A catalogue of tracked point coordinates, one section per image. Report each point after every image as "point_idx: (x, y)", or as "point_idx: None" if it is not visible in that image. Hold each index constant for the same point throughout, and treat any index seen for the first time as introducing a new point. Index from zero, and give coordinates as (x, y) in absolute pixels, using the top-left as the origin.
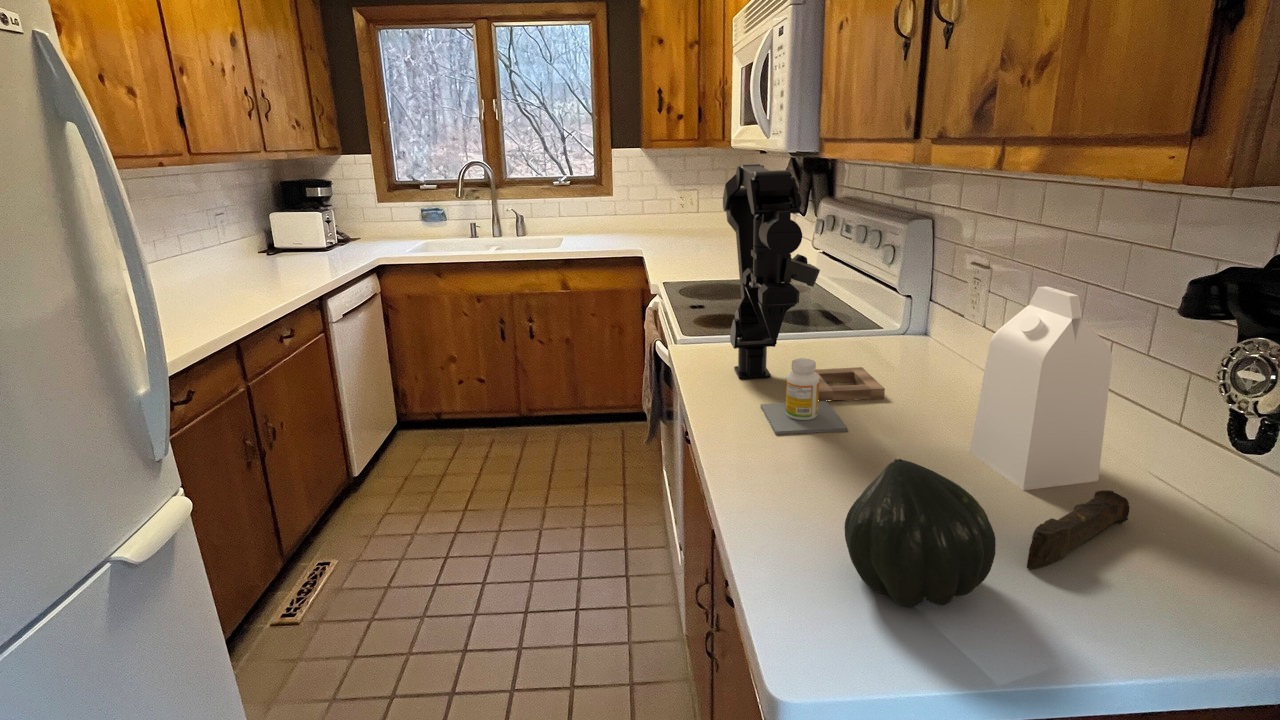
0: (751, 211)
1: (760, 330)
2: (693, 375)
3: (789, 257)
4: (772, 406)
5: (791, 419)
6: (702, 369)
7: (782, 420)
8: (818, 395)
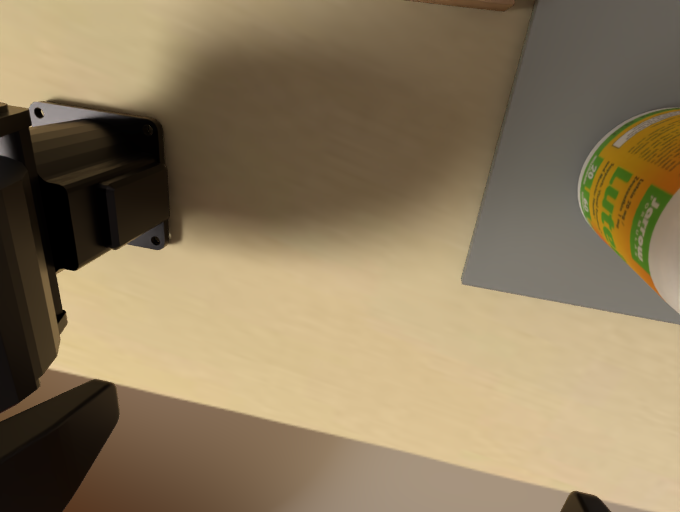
0: None
1: (9, 280)
2: (119, 363)
3: None
4: (504, 253)
5: None
6: None
7: None
8: (493, 6)
